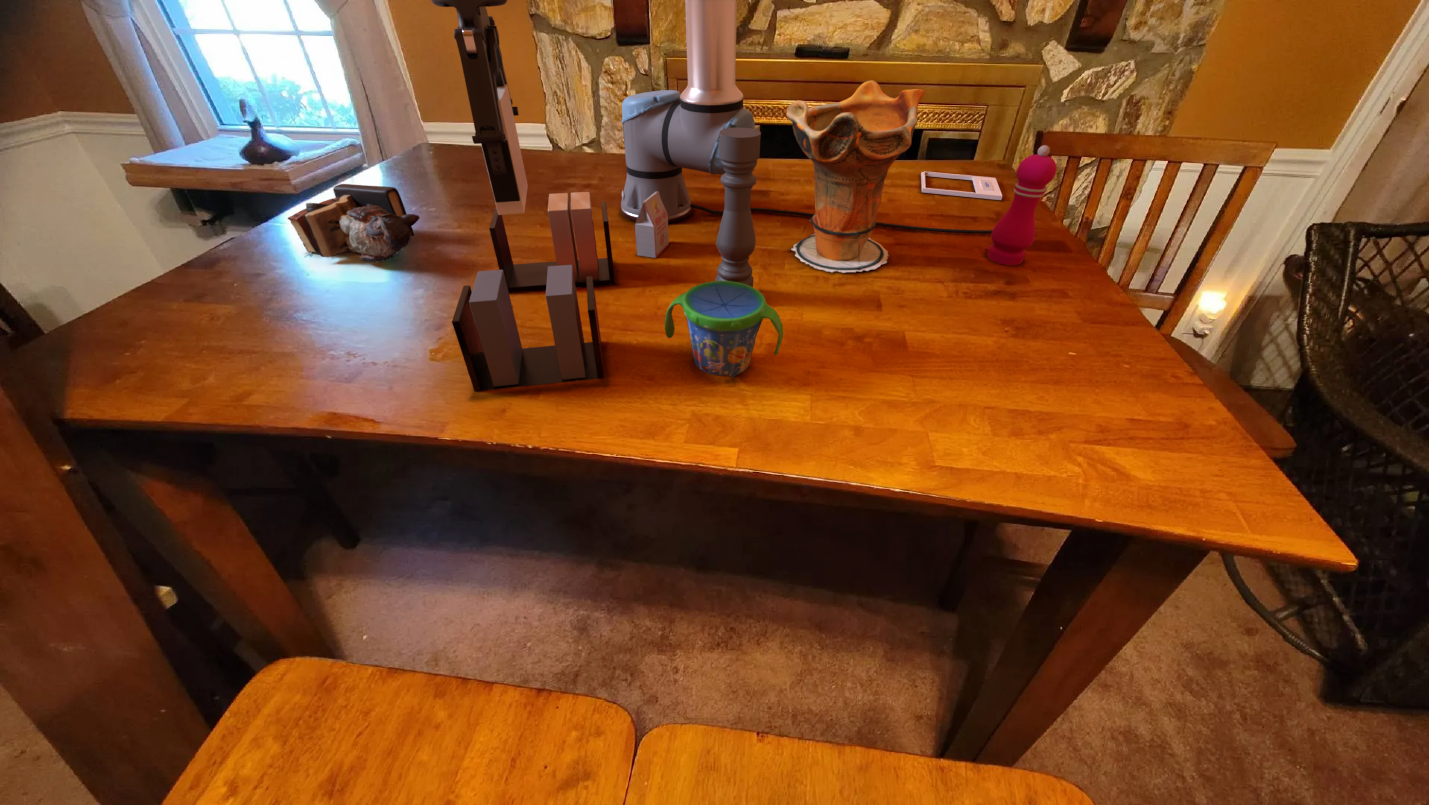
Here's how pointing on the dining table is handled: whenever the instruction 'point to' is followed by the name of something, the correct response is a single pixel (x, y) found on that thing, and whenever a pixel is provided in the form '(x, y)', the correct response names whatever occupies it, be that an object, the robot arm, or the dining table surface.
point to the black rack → (559, 246)
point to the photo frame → (982, 185)
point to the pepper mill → (1022, 209)
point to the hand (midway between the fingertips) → (511, 185)
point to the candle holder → (737, 203)
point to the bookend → (356, 223)
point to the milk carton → (652, 227)
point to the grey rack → (524, 350)
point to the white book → (515, 152)
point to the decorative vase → (851, 171)
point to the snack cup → (723, 324)
